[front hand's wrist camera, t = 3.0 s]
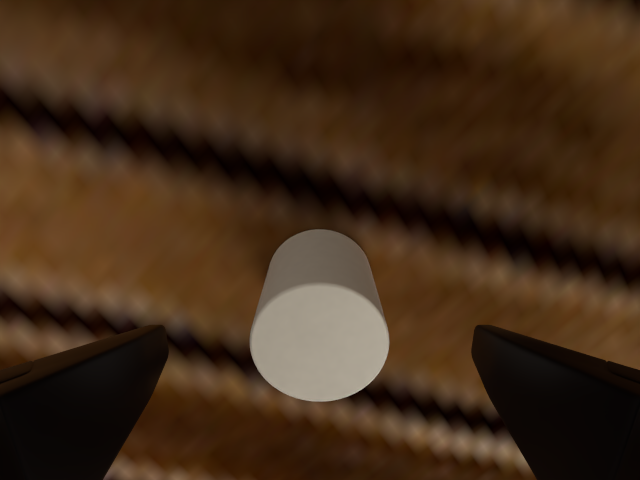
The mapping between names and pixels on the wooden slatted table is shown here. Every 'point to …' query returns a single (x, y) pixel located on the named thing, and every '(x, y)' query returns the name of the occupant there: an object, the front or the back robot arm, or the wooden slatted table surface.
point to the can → (319, 319)
